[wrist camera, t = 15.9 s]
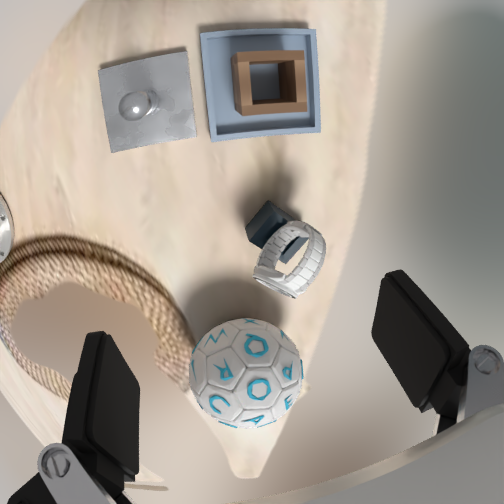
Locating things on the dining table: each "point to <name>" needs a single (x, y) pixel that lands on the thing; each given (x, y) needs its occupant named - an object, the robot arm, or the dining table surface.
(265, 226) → the watch
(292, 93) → the collar
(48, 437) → the dining table surface
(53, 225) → the dining table surface
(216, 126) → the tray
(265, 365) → the puzzle ball
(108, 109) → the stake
